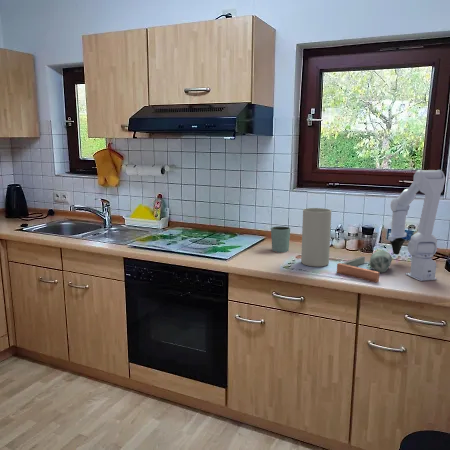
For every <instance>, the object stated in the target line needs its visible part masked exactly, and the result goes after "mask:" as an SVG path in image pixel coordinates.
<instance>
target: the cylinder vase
mask: <svg viewBox="0 0 450 450" xmlns="http://www.w3.org/2000/svg"><path fill="white" fill-rule="evenodd" d="M331 224H332V210H331V209H330V208H323V207H321V208H320V207H308V208H303V209H302V228H301V229H302V230H301V231H302V232H301V234H302V235H301V255H300V256H301V257H300V261H301V264H303V265H304V266H308V267H314V268H319V267H326V266H328V265H329V264H330V246H331V228H332V226H331Z"/></svg>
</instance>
